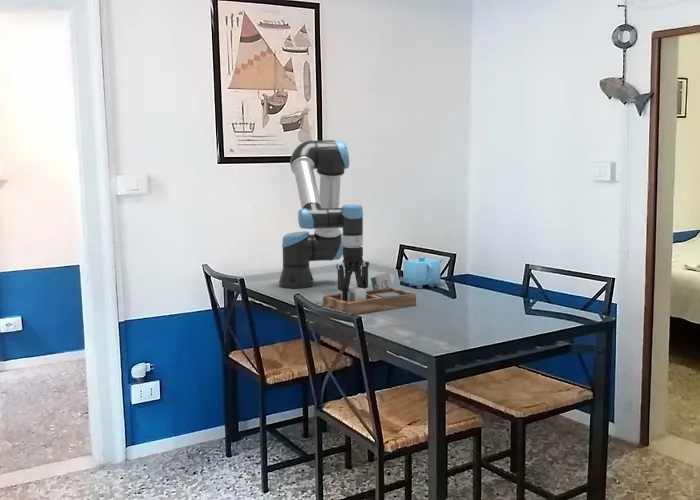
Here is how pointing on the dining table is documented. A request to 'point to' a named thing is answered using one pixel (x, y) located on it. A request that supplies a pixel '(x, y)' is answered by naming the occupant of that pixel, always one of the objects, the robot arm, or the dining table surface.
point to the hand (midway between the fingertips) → (353, 307)
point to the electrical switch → (381, 281)
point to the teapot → (421, 272)
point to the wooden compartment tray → (371, 302)
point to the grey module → (386, 294)
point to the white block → (355, 294)
